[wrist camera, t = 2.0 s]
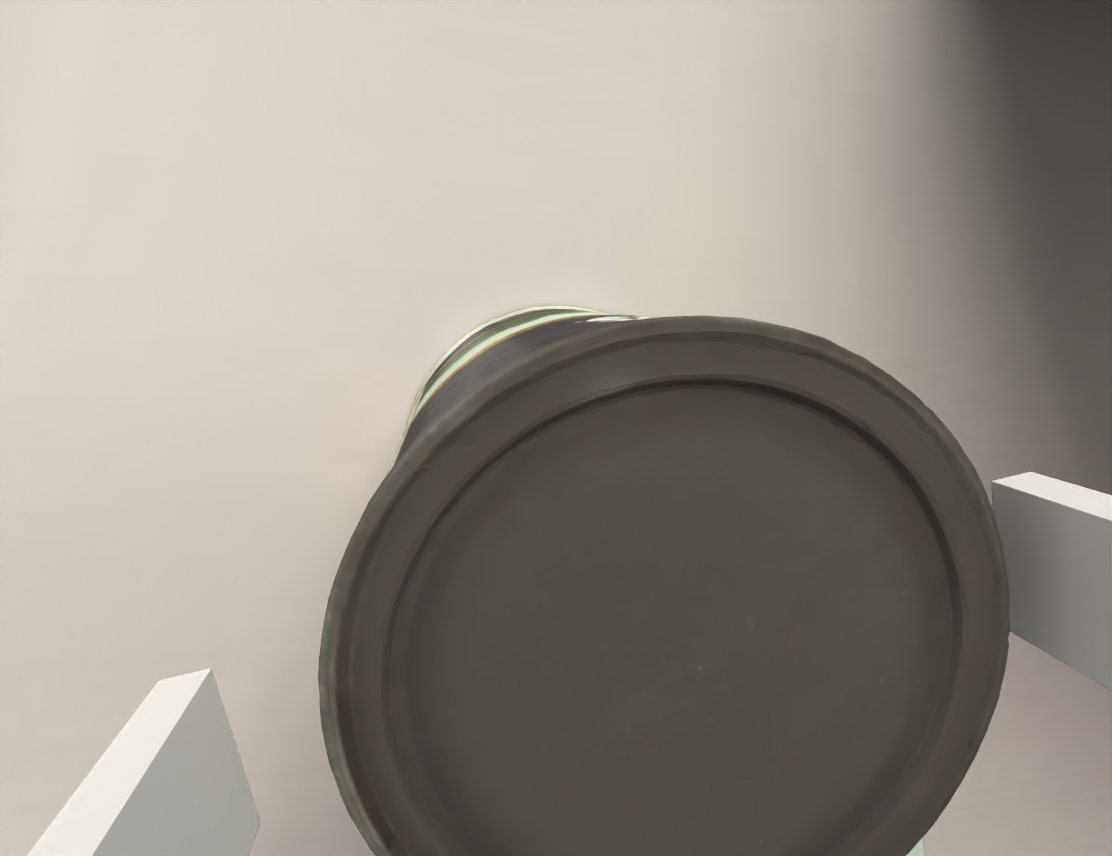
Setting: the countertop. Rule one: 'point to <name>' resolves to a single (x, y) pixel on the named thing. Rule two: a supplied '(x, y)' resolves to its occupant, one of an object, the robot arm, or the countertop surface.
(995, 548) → the coffee can
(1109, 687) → the robot arm
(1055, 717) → the countertop surface
